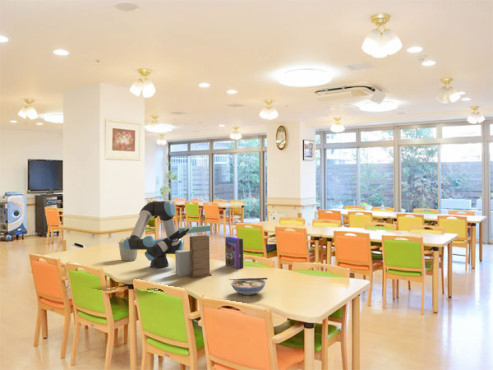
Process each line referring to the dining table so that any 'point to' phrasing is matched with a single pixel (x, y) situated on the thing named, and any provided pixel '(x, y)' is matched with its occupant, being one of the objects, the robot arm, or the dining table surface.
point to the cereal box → (234, 252)
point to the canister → (127, 252)
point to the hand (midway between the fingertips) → (190, 226)
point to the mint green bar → (196, 229)
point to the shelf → (182, 262)
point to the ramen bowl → (248, 285)
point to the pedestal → (199, 256)
